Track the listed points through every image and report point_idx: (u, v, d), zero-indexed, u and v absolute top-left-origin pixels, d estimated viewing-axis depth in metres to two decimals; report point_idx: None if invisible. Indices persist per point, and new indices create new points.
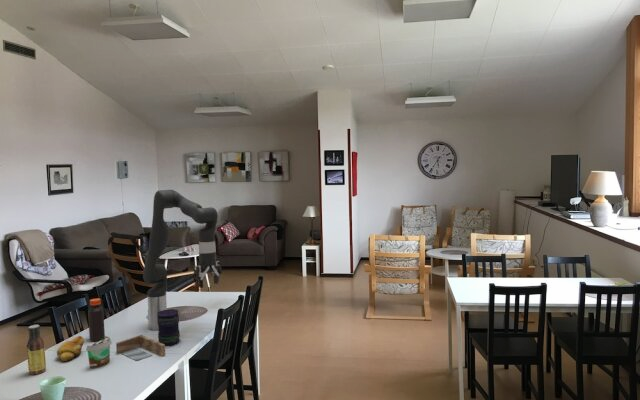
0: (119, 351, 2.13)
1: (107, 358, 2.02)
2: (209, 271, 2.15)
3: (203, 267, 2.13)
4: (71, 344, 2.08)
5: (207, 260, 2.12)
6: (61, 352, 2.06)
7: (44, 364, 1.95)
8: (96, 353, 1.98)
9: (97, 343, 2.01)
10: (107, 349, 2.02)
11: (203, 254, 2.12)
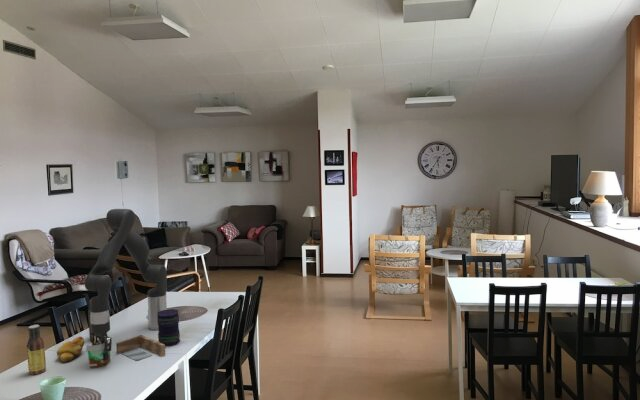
0: (119, 351, 2.13)
1: None
2: None
3: None
4: (71, 345, 2.08)
5: (109, 328, 2.02)
6: (61, 353, 2.05)
7: (44, 364, 1.95)
8: (96, 353, 1.98)
9: (97, 343, 2.01)
10: None
11: (107, 323, 2.00)
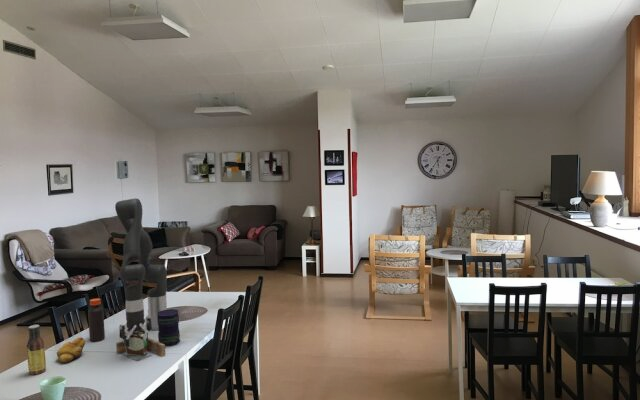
0: (119, 351, 2.13)
1: None
2: None
3: None
4: (71, 346, 2.07)
5: None
6: (60, 353, 2.04)
7: (44, 364, 1.95)
8: None
9: (136, 334, 2.09)
10: None
11: None
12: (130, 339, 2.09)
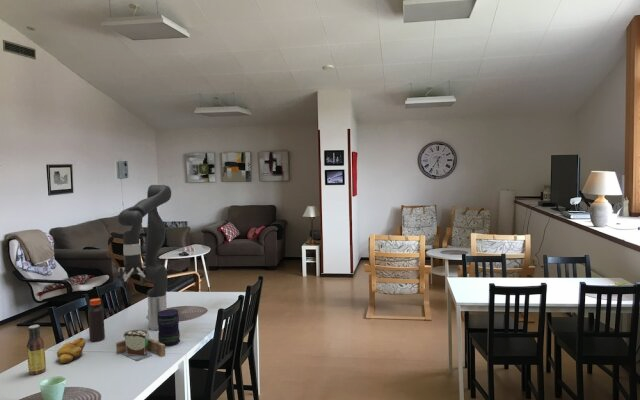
0: (119, 351, 2.13)
1: None
2: None
3: None
4: (71, 346, 2.06)
5: None
6: (60, 354, 2.04)
7: (44, 364, 1.95)
8: (147, 339, 2.11)
9: (138, 334, 2.11)
10: None
11: None
12: (132, 338, 2.10)
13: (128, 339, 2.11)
